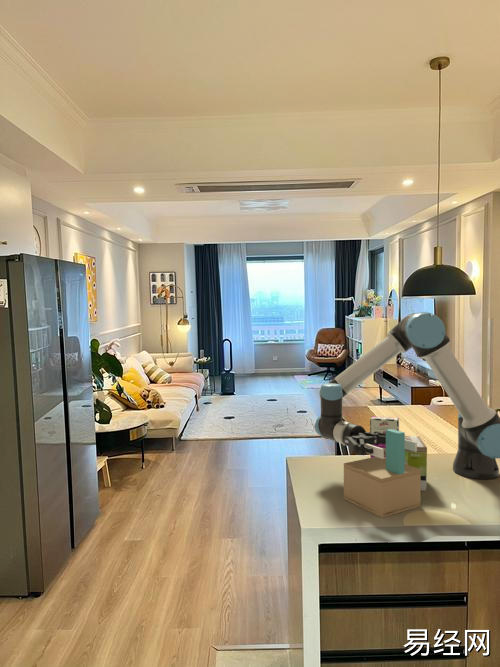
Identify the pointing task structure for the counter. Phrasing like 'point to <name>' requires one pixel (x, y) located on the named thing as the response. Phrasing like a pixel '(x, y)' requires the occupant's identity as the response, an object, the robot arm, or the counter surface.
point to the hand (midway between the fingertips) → (399, 450)
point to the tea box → (418, 459)
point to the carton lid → (386, 460)
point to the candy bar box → (383, 427)
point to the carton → (382, 493)
